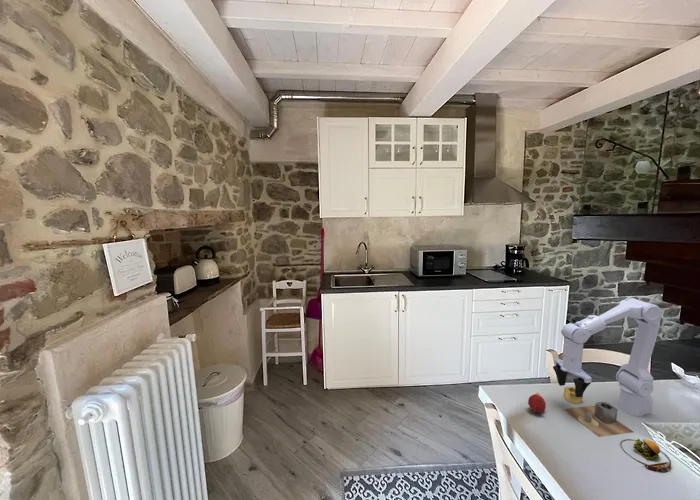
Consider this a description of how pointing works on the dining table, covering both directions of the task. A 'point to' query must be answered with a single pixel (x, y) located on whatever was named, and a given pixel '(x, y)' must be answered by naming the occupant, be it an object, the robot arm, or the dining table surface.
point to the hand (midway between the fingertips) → (570, 390)
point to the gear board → (596, 422)
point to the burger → (650, 454)
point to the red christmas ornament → (537, 403)
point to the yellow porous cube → (572, 395)
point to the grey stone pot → (605, 412)
